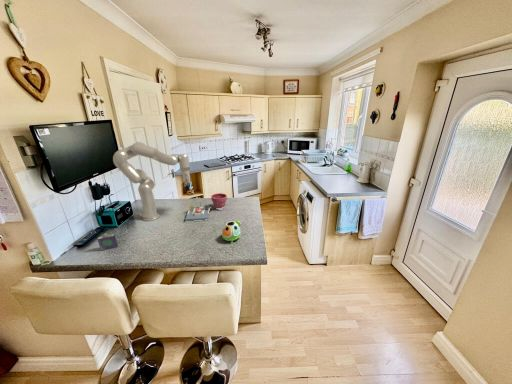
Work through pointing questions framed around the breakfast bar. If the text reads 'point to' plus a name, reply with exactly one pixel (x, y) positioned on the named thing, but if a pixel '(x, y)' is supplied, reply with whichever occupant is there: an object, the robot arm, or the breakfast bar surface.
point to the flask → (107, 242)
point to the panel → (197, 214)
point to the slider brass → (191, 207)
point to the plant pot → (219, 200)
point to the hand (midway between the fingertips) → (188, 188)
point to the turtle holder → (231, 231)
